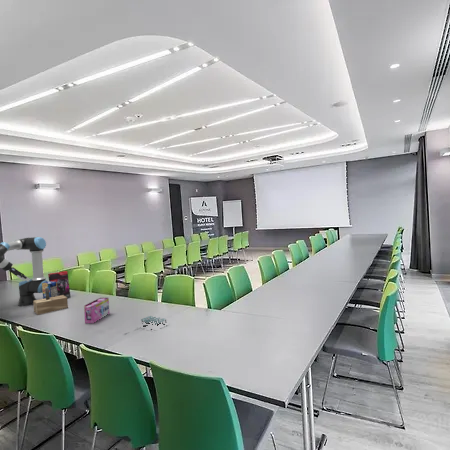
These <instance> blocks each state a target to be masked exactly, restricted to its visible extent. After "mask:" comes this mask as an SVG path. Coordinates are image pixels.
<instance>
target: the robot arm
mask: <svg viewBox="0 0 450 450" xmlns="http://www.w3.org/2000/svg"><path fill="white" fill-rule="evenodd" d="M46 246H47V242H46V239H44V237H39V236H37V237H35V236H34V237H24V238H20V239H19V238H18V239H15V240H13V241H10V242H9V241H8V242H5V241H2V242H0V269H2V271H4V272H7V271H8V272H10V273H11V274H13V275H14V276H16V277H17V278H19V279H20V280H22V281H19V282H18V293H19V294H18V295H19V298H18V302H17V304H18V306H19V307H23V306H31V305H33V302H34V300H37V298H36V296H35V294H43V289H42V283H44V282H48V281H49V280H46V277H45V276H44V263H43V252H44V250H45V248H46ZM14 250H16V251H20V250H21V251H22V250H24V251H25V250H27V251H28V250H29V252H30V253H31V262H32V263H31V265H32V278H29V277H28V276H27V275H26V274H24V273H23V272H21V271H19V270H18V269H16V268H15V267H12V266H13V264H14V263H12V262H11V261H9V260H8V259H7V258H4V255H5V254H6V253H7V252H9V251H14Z"/></svg>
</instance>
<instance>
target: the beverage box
mask: <svg viewBox="0 0 450 450" xmlns="http://www.w3.org/2000/svg"><path fill="white" fill-rule="evenodd" d="M47 281H48V282H44V283H42V289H43V293H42V299H44V298H46V293H45V288H49V297H55V296H58V294H57V282H51V281H49V280H47Z"/></svg>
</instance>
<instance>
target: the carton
mask: <svg viewBox="0 0 450 450" xmlns="http://www.w3.org/2000/svg"><path fill="white" fill-rule="evenodd" d="M50 299H51V300H52V301H49V302H44V303H40V304H37V303H35V302H33V304H32V306H33V312H34V313H35V314H36V315H37V316H40V315H44V314H48V313H52V312H57V311H61V310H66V309H69V305H68V304H69V303H68V298H67V297H66V296H64V295H60V296H55V297H50Z"/></svg>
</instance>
